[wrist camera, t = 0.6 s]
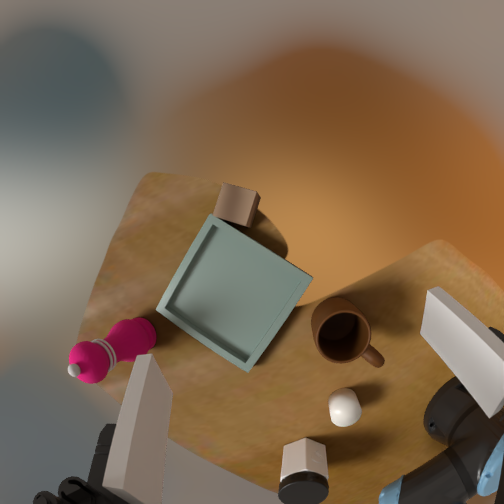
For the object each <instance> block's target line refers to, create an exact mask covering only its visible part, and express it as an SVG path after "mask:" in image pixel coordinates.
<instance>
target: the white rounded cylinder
mask: <svg viewBox="0 0 504 504" xmlns="http://www.w3.org/2000/svg"><path fill="white" fill-rule="evenodd" d="M328 404H329V409H330V415H331V420H332V422H333V423H334V424H335V425H337V426H341V427H346V426H350V425H352V424H354V423H355V422H357V421H358V420H359V418H360V417H361V413H362V410H361V407H360V404H359V402H358V399H357V397H356V394H355V392H354V391H353V390H351V389H349V388H341V389H338V390H336V391H334V392H333V393H332V394H331V395H330V397H329V400H328Z"/></svg>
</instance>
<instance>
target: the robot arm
mask: <svg viewBox="0 0 504 504" xmlns="http://www.w3.org/2000/svg"><path fill="white" fill-rule="evenodd" d="M420 334H421V335H422V337H423V338H424V339H425V340H426V341H427V342H428V343H429V344H430V346H431V347H432V348H433V349H434V350H435V351H436V353H437V354H438V355H439V356H440V357H441V358H442V360H443V361H444V362H445V363H446V364H447V366H448V367H449V368H450V369H451V370H452V372H453V373H454V374H455V375H456V377H454V378H453V379H451V380H450V381H448V382H447V383H446V384H445V385H443V386H442V387H441V388H440V389H439V390H438V391H437V393H436V394H435V395H434V396H433V398H432V399H431V401H430V403H429V404H428V406H427V409H426V411H425V415H424V427H425V429H426V431H427V432H428V434H429V435H430V437H432V438H433V439H434V440H436V441H438V442H440V443H442V444H444V445H446V446H448V448H447V449H446V450H444V451H443V452H441V453H440V454H438V455H437V456H435V457H434V458H432V459H431V460H429V461H428V462H426V463H425V464H423V465H422V466H420V467H418V468H417V469H415V470H413V471H412V472H410V473H408V474H406V475H402V476H401V478H399V479H397V480H396V481H394V482H392V483H390V484H389V485H387V486H386V487H384V488H383V490H382V491H381V493H380V496H379V504H466V501H467V500H468V499H470V498H471V497H473V496H474V495H476V494H477V493H478V494H479V495H481V496H487V495H490V494H491V493H493V492H495V491H497V495H496V499H495V504H504V408H502V407H503V405H504V334H503V333H501V332H500V331H499V330H497V329H495V328H493V327H489V328H487V327H486V326H485V325H484V324H483V323H482V322H481V321H479V320H478V319H477V318H476V317H475V316H474V315H473V314H471V313H470V312H469V311H468V310H467V309H466V308H464V307H463V306H462V305H461V304H460V303H458V302H457V301H456V300H455V299H454V298H452V297H451V296H450V295H449V294H448V293H446V292H445V291H444V290H443V289H441V288H440V287H439V286H438V287H435V288H432V289H430V290H427V297H426V304H425V310H424V316H423V321H422V327H421V332H420ZM172 397H173V392H172V391H171V389H170V387H169V385H168V383H167V382H166V380H165V378H164V376H163V374H162V372H161V370H160V368H159V366H158V364H157V362H156V361H155V359H154V357H153V355H152V354H145V355H137V357H136V360H135V363H134V366H133V369H132V373H131V376H130V379H129V382H128V386H127V389H126V392H125V396H124V399H123V403H122V406H121V410H120V413H119V417H118V421H117V424H106V426H105V427H104V428H103V430H102V431H101V433H100V435H99V439H98V442H97V444H98V445H97V446H96V450H95V454H94V457H93V461H92V465H91V469H90V473H89V477H88V482H85V481H84V480H82V479H80V478H79V477H68V478H66V479H65V480H63V481H62V482H61V484H60V486H59V489H58V495H59V497H56V496H55V495H53V494H52V493H50V492H48V491H41V492H39V493H38V494H37V495H36V496H35V498H34V500H33V504H162V491H163V478H164V467H165V455H166V446H167V437H168V428H169V420H170V412H171V404H172Z"/></svg>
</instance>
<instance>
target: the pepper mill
mask: <svg viewBox="0 0 504 504" xmlns="http://www.w3.org/2000/svg"><path fill="white" fill-rule="evenodd" d="M155 343H156V331H155V329H154V327H153V325H152V324H151V323H150V322H149V321H148V320H146V319H144V318H140V317H137V318H134V319H131V320H129V319H126V320H122V321H120V322H118V323H117V324H115V325H114V326H113V327H112V328H111V330H110V332H109V334H108V335H107V337H106V338H105V339H95V340H94V341H91V342H89V341H83V342H80V343H78V344H76V345H75V346H74V347H73V348H72V350H71V352H70V355H69V363H70V365H69V367H68V372H69V374H70V375H71V376H73V377H78V378H79V379H80V380H81V381H83V382H85V383H90V384H93V383H98V382H100V381H102V380H103V379H104V378H105V377H106V375H107V373H108V372H109V371H110V370H112V369H114V367H115V365H116V363H117V362H119V361H127V362H132V361H135V360H136V357H137V355H145V354H147V352H148V350H149V349H151V348H152V347H153V346H154V345H155Z"/></svg>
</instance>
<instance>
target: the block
mask: <svg viewBox="0 0 504 504" xmlns="http://www.w3.org/2000/svg"><path fill="white" fill-rule="evenodd" d="M259 202H260V196H259V194H258V193H257V192H256V191H253V190H249V189H245V188H242V187H239V186H235V185H231V184H227V183H223V185H222V188H221V191H220V194H219V197H218V200H217V203H216V207H215V210H214V213H213V216H215V217H217V218H220V219H223V220H226V221H229V222H233V223H236V224H239V225H243V226H246V227H249V228H251V227H252V224H253V220H254V217H255V214H256V211H257V208H258V205H259Z"/></svg>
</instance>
